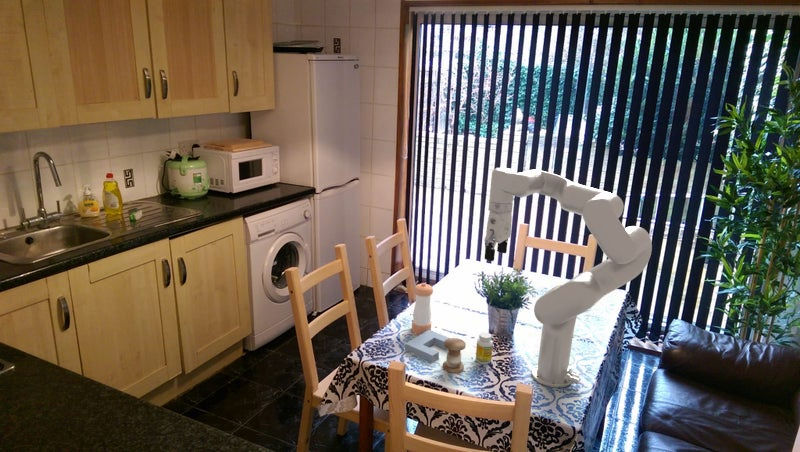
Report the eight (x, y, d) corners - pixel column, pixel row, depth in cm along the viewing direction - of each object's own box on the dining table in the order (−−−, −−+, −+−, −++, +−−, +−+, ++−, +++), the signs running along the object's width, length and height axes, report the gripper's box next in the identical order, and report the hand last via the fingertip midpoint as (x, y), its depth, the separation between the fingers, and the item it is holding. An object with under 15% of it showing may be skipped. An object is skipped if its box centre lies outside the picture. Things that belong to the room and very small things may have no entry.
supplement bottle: (484, 354, 188) (486, 329, 185) (494, 361, 183) (497, 336, 181) (472, 358, 185) (474, 333, 182) (482, 365, 180) (485, 340, 178)
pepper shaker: (429, 336, 199) (432, 288, 193) (409, 333, 200) (412, 286, 195) (432, 327, 206) (435, 280, 200) (413, 324, 207) (415, 278, 201)
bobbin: (467, 367, 179) (469, 342, 177) (456, 375, 174) (457, 350, 171) (450, 359, 183) (452, 335, 181) (438, 367, 178) (440, 343, 176)
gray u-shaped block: (455, 346, 192) (456, 340, 191) (432, 362, 181) (432, 355, 181) (428, 335, 199) (428, 329, 198) (404, 349, 189) (405, 343, 188)
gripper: (500, 214, 165) (494, 266, 170) (521, 203, 179) (516, 252, 184) (478, 209, 169) (473, 260, 174) (501, 199, 183) (496, 247, 188)
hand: (495, 256), depth 179 cm, fingers open, 9 cm apart
